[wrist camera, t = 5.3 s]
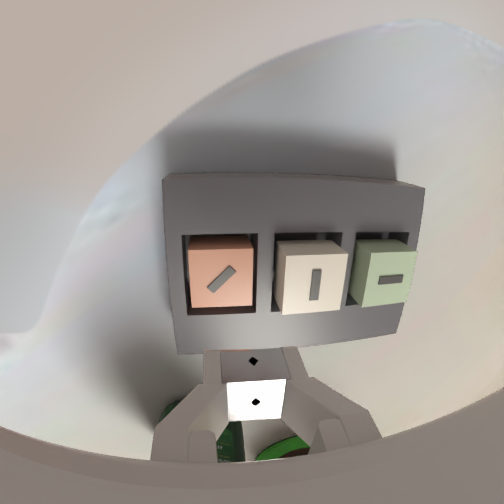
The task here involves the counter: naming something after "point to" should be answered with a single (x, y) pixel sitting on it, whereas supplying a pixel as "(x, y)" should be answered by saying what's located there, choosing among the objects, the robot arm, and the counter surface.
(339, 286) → the key mid
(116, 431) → the counter surface
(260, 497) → the robot arm
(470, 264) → the counter surface
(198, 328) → the keypad
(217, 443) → the coffee jar
